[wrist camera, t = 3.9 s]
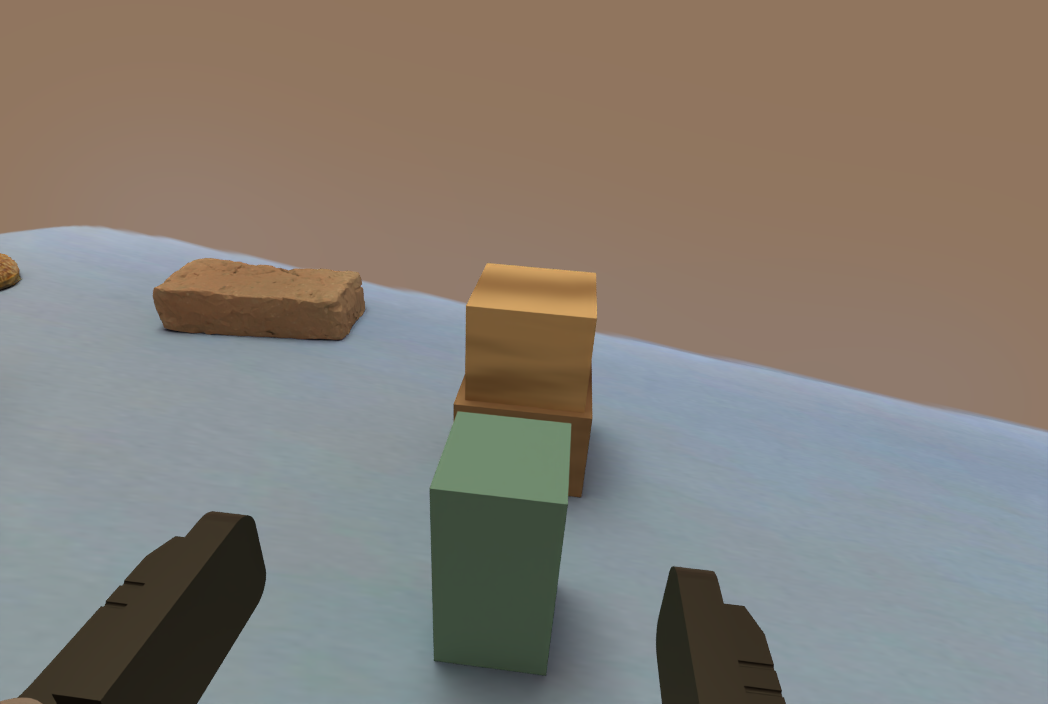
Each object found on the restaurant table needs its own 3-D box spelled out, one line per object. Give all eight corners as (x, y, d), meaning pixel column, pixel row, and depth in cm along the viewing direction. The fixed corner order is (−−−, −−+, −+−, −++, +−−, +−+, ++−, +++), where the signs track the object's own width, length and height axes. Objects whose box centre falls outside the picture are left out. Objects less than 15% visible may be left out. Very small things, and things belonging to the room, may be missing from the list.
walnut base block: (581, 498, 35) (592, 418, 32) (453, 484, 35) (453, 404, 33) (581, 424, 42) (591, 353, 39) (475, 412, 43) (477, 341, 40)
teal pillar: (545, 675, 25) (567, 504, 20) (433, 660, 25) (429, 488, 20) (552, 582, 29) (571, 423, 25) (457, 570, 30) (457, 411, 25)
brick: (367, 308, 58) (364, 264, 56) (343, 345, 51) (338, 296, 49) (206, 299, 58) (196, 255, 56) (158, 335, 51) (144, 286, 48)
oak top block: (584, 412, 33) (596, 318, 30) (464, 399, 33) (466, 305, 30) (585, 355, 39) (595, 273, 36) (484, 345, 39) (487, 263, 36)
